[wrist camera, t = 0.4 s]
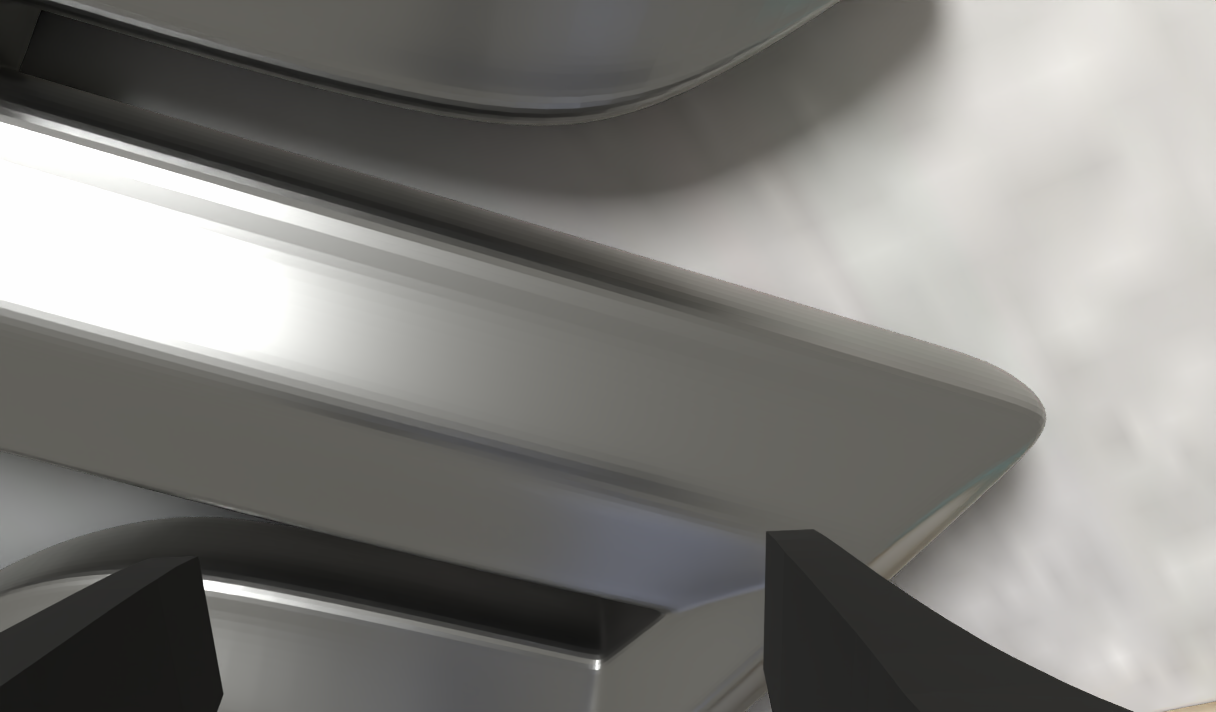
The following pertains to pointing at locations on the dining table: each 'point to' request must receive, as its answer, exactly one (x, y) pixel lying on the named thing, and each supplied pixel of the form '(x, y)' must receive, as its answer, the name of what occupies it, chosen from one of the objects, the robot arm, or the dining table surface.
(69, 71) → the dining table surface
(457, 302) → the emblem
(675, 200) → the dining table surface
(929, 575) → the dining table surface
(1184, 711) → the rack
